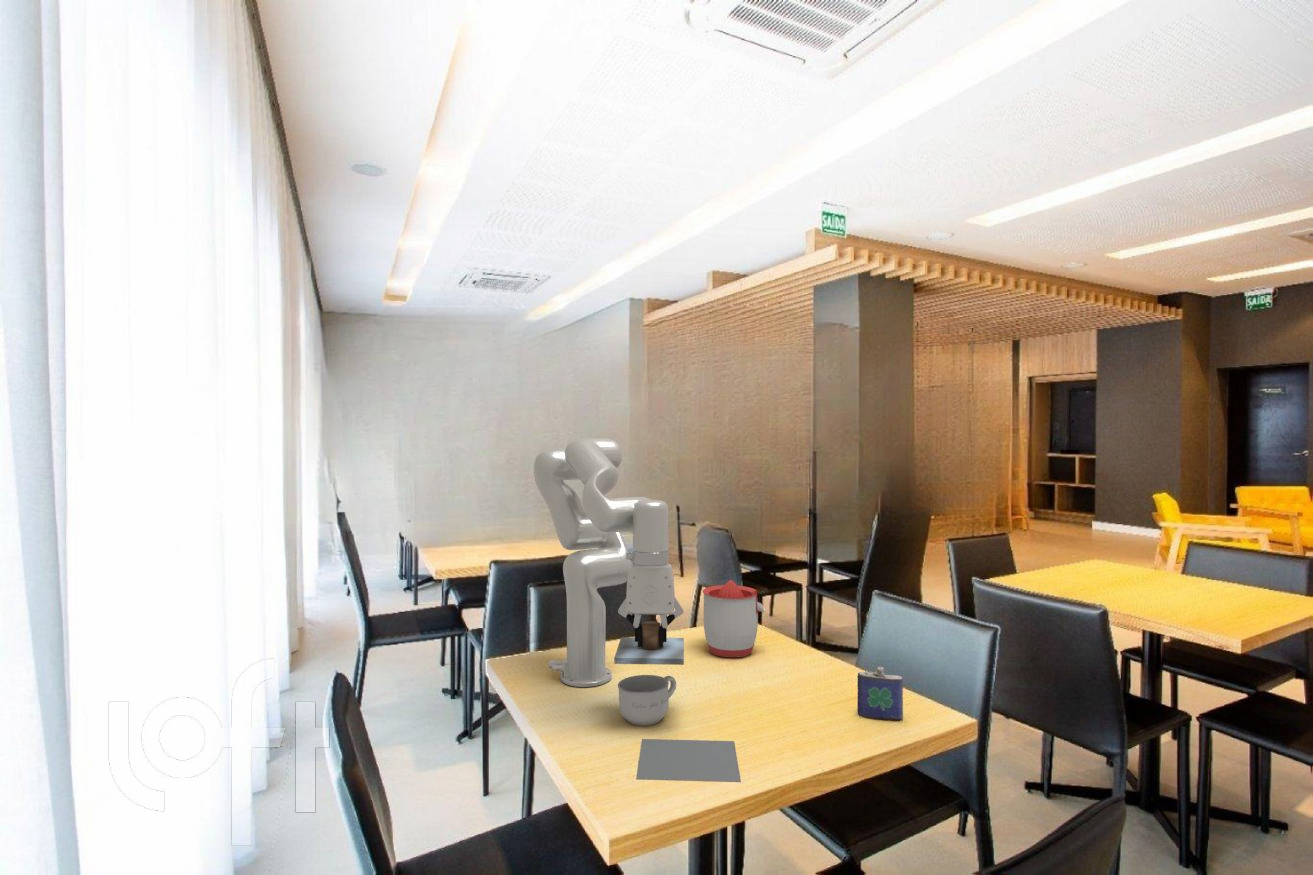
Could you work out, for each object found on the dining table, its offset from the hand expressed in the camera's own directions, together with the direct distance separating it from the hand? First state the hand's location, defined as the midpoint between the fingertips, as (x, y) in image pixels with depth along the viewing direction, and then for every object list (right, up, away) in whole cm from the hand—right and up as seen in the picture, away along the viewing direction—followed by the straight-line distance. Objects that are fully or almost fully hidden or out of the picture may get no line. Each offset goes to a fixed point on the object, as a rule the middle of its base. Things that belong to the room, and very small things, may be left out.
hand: (650, 644), depth 136 cm
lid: (0, -2, 0) cm, 2 cm away
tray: (+7, -16, -18) cm, 25 cm away
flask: (+49, -16, +1) cm, 52 cm away
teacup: (0, -16, 0) cm, 16 cm away
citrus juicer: (+23, -16, +43) cm, 51 cm away
